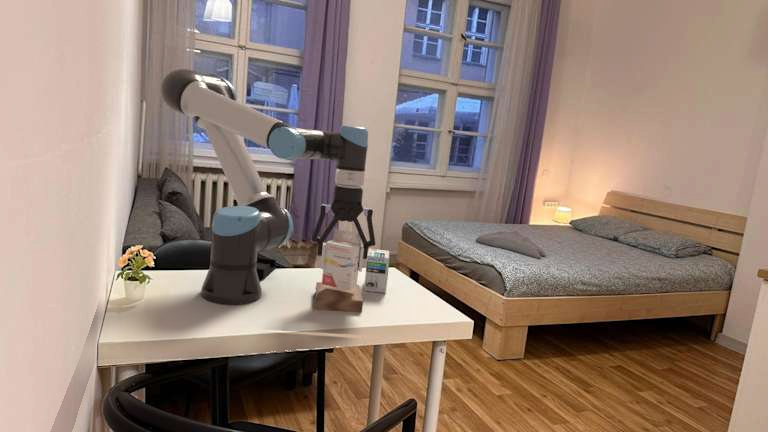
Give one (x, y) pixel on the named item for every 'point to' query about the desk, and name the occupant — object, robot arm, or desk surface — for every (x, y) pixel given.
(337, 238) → the ink cartridge box
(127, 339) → the desk surface
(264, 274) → the battery charger
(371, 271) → the light bulb box
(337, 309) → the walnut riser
